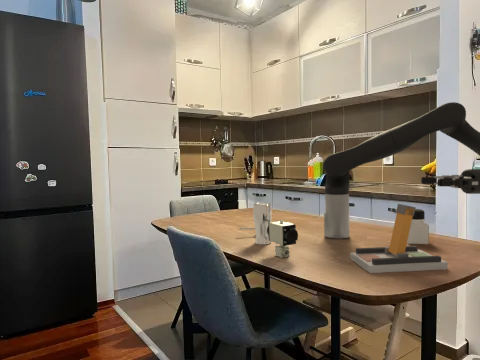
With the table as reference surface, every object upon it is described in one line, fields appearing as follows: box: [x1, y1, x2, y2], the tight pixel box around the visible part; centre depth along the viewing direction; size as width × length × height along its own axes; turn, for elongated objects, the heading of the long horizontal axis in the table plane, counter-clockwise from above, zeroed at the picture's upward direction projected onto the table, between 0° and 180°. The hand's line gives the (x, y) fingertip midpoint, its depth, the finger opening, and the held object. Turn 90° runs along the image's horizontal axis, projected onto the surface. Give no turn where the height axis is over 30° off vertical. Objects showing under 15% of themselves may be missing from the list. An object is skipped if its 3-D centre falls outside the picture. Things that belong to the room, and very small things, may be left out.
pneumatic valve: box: [267, 219, 299, 259], centre depth 115 cm, size 6×12×12 cm, turn 28°
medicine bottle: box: [407, 208, 430, 245], centre depth 128 cm, size 7×7×12 cm
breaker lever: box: [388, 203, 417, 256], centre depth 103 cm, size 3×5×15 cm, turn 4°
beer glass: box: [252, 202, 273, 246], centre depth 134 cm, size 7×7×15 cm
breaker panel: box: [350, 246, 449, 274], centre depth 103 cm, size 22×14×4 cm, turn 93°
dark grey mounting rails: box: [355, 245, 442, 265], centre depth 103 cm, size 19×13×1 cm
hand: (429, 181), depth 107 cm, fingers open, 8 cm apart
